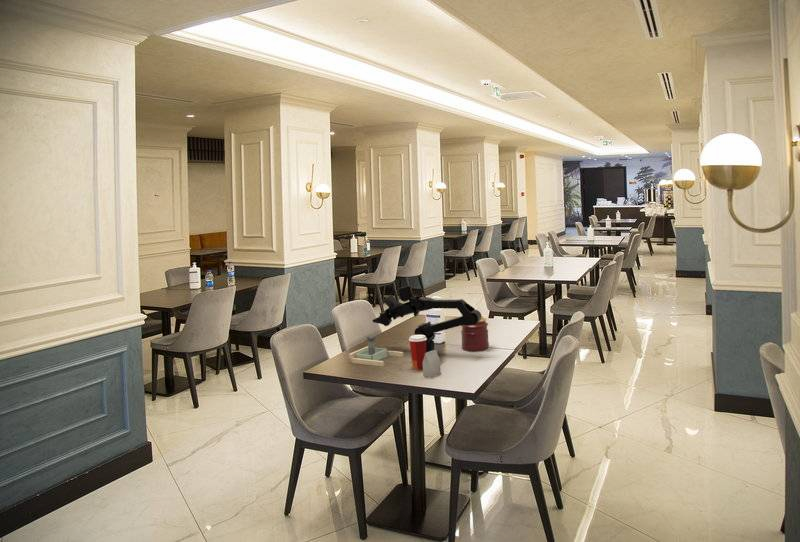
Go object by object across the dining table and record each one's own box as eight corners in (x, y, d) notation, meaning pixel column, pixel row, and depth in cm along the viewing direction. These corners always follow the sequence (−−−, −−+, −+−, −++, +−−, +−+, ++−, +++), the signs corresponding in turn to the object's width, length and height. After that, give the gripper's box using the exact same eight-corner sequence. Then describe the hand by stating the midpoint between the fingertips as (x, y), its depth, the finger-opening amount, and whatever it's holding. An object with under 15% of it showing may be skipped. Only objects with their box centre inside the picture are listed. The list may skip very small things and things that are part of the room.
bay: (403, 357, 263) (403, 347, 262) (382, 368, 248) (381, 357, 247) (371, 354, 272) (371, 344, 272) (349, 364, 257) (348, 354, 257)
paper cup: (430, 366, 247) (428, 334, 246) (425, 371, 240) (423, 338, 239) (413, 365, 250) (411, 334, 248) (407, 370, 243) (406, 338, 241)
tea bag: (440, 373, 235) (439, 350, 234) (430, 378, 230) (428, 354, 229) (433, 372, 237) (432, 349, 236) (423, 376, 233) (421, 352, 232)
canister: (458, 351, 270) (456, 314, 268) (465, 344, 282) (464, 309, 280) (485, 352, 265) (484, 315, 263) (491, 345, 277) (490, 310, 275)
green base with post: (388, 356, 264) (386, 334, 263) (372, 363, 253) (370, 340, 252) (372, 354, 269) (370, 333, 268) (355, 361, 258) (354, 339, 257)
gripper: (404, 287, 277) (377, 296, 283) (391, 300, 260) (362, 309, 266) (412, 308, 278) (385, 316, 285) (400, 322, 262) (371, 330, 268)
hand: (376, 317), depth 276 cm, fingers open, 9 cm apart
